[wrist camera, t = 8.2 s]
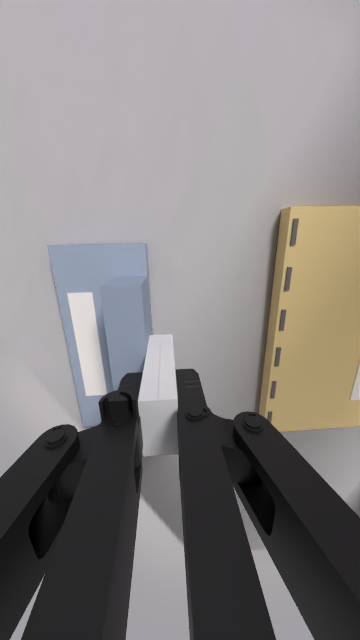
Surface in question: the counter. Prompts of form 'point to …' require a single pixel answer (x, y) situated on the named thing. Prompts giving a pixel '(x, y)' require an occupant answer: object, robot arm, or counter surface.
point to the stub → (102, 316)
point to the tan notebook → (314, 321)
